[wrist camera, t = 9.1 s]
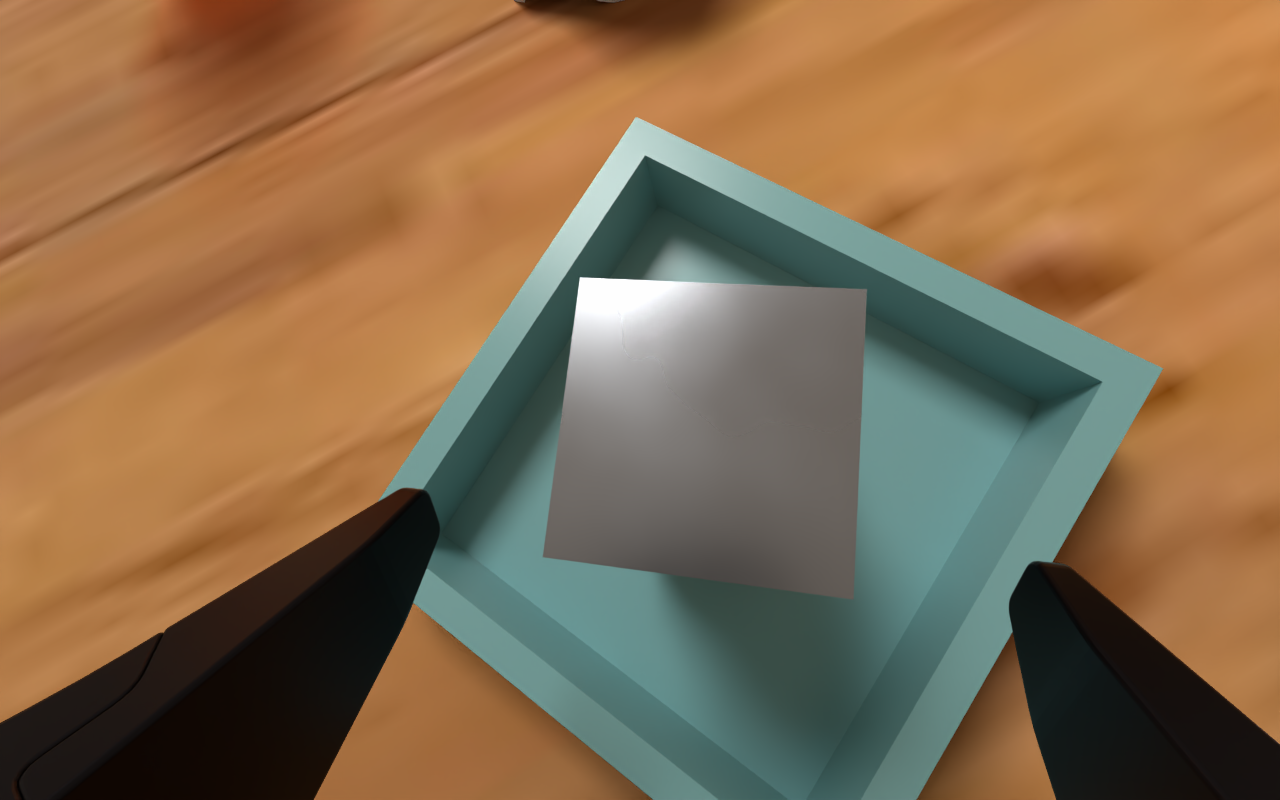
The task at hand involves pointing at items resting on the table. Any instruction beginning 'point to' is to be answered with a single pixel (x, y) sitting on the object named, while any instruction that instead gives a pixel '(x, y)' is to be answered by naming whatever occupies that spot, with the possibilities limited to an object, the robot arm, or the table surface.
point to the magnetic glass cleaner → (597, 0)
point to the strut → (712, 433)
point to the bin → (886, 515)
